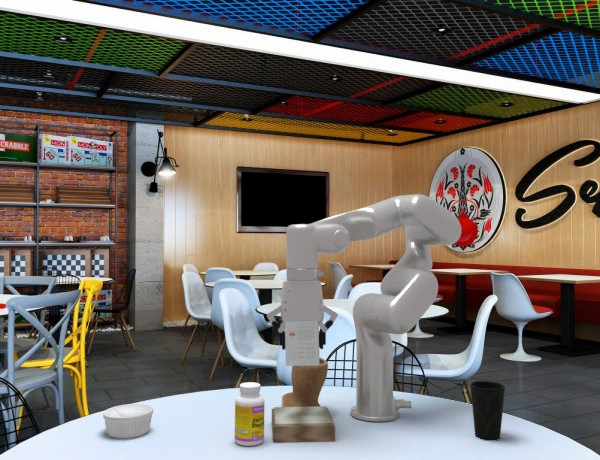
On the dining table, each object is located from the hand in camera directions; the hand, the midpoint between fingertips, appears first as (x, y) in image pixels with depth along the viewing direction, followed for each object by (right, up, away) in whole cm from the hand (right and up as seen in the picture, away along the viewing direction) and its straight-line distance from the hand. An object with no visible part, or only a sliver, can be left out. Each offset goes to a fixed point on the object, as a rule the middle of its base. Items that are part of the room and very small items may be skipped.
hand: (302, 348), depth 137 cm
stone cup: (+1, -20, +16) cm, 26 cm away
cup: (+43, -20, -3) cm, 48 cm away
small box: (0, -4, 0) cm, 4 cm away
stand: (0, -20, -1) cm, 20 cm away
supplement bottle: (-12, -20, -8) cm, 24 cm away
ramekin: (-41, -20, -2) cm, 46 cm away
